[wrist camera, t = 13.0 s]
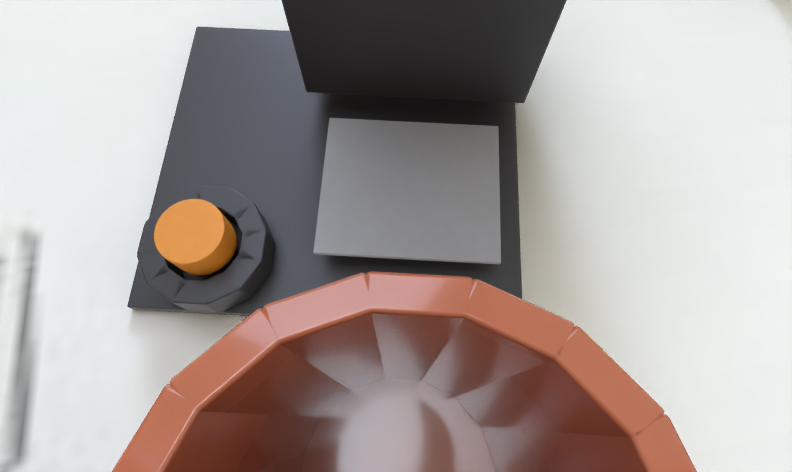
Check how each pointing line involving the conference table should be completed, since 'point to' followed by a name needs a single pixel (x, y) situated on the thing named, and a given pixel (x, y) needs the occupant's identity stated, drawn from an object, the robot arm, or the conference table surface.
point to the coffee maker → (416, 141)
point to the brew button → (195, 237)
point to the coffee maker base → (285, 177)
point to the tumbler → (404, 390)
